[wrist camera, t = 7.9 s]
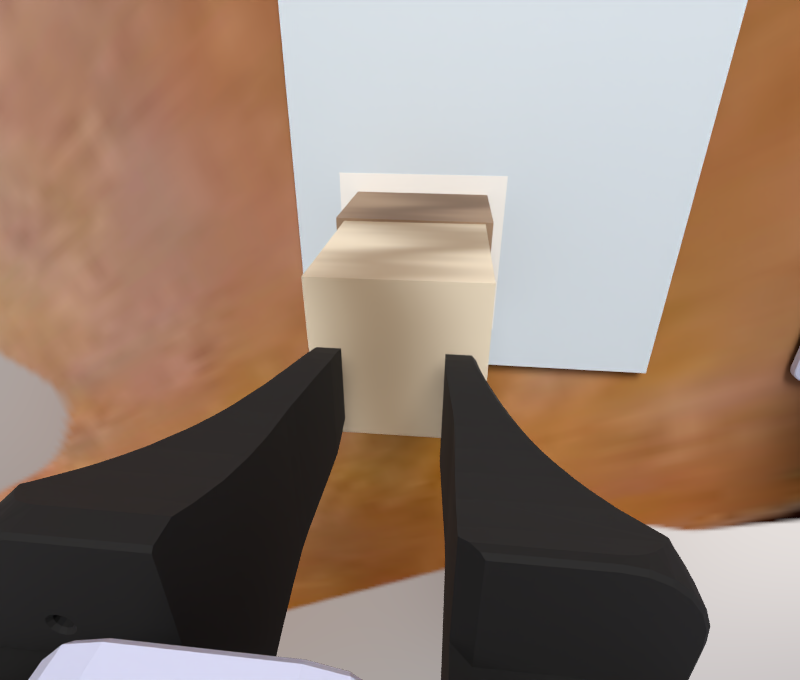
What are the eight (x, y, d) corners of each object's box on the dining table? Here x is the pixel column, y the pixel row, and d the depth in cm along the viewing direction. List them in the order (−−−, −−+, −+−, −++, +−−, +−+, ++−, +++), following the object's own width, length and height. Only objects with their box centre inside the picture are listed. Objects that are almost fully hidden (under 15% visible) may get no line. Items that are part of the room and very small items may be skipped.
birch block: (485, 224, 16) (495, 283, 11) (476, 349, 18) (481, 440, 14) (343, 220, 16) (301, 276, 12) (351, 343, 18) (316, 430, 14)
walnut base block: (487, 195, 19) (493, 222, 16) (477, 313, 22) (480, 360, 18) (358, 191, 20) (336, 217, 16) (362, 308, 22) (343, 353, 19)
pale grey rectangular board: (847, -408, 12) (865, -431, 12) (641, 366, 23) (645, 373, 22) (251, -364, 14) (242, -382, 13) (314, 348, 24) (310, 355, 23)
